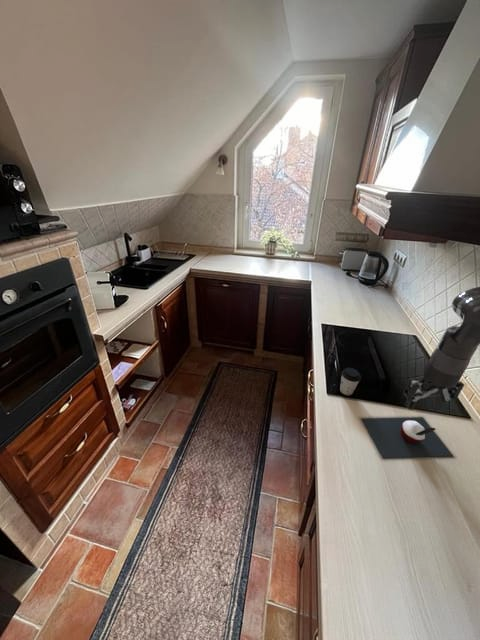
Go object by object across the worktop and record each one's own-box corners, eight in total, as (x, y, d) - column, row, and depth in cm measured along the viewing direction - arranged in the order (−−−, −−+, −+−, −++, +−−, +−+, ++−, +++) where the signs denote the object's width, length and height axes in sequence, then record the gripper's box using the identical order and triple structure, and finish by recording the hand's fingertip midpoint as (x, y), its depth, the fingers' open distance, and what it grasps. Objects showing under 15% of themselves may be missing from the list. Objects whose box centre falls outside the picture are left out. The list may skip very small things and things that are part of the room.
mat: (422, 418, 89) (422, 417, 89) (452, 456, 77) (453, 455, 77) (361, 419, 88) (361, 418, 88) (382, 458, 76) (382, 457, 76)
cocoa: (398, 424, 86) (411, 399, 80) (420, 432, 83) (434, 407, 77) (397, 446, 79) (411, 421, 73) (421, 456, 76) (437, 431, 70)
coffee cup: (358, 392, 99) (365, 372, 94) (350, 401, 95) (356, 381, 90) (342, 382, 103) (348, 363, 98) (333, 390, 99) (338, 371, 94)
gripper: (429, 375, 63) (407, 418, 71) (485, 374, 63) (456, 417, 71) (411, 356, 69) (392, 397, 77) (461, 355, 70) (437, 397, 78)
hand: (422, 407), depth 74 cm, fingers open, 8 cm apart
